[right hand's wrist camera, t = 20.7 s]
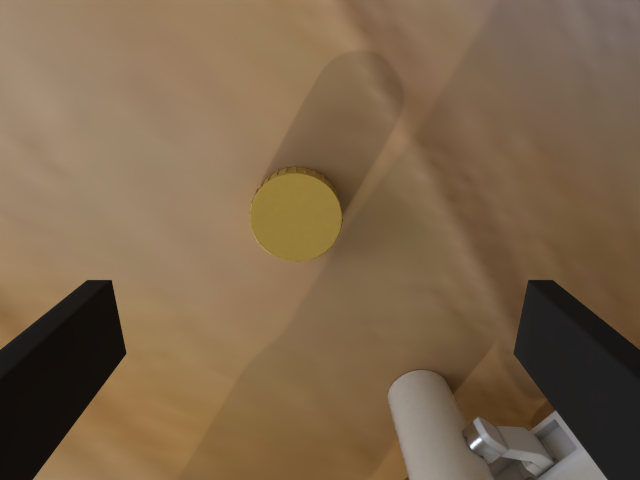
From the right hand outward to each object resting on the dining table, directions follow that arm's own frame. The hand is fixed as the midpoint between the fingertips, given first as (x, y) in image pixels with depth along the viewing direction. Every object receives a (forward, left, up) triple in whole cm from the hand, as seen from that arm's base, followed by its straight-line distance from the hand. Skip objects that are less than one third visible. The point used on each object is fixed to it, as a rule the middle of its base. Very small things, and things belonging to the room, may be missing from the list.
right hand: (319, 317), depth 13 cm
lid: (+1, 0, -12) cm, 12 cm away
